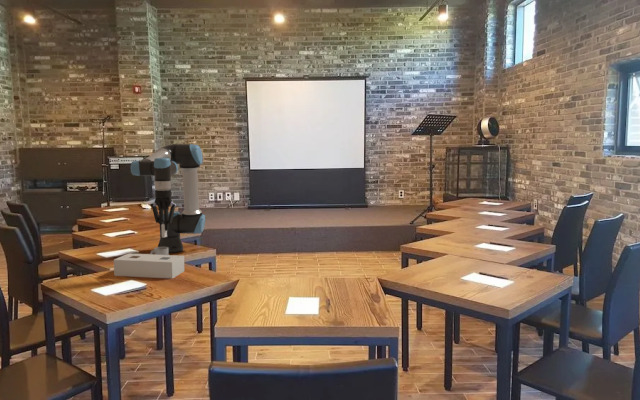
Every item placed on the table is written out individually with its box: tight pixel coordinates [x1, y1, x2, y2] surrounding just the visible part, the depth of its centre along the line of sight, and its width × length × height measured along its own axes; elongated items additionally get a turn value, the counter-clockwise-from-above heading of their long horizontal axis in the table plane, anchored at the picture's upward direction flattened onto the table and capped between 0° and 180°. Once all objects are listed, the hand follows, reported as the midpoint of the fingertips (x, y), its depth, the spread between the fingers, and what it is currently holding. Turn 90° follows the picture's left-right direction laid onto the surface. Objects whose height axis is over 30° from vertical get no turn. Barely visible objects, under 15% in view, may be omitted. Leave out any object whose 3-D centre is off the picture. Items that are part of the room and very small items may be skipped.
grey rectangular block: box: [113, 253, 185, 279], centre depth 237 cm, size 14×30×8 cm, turn 82°
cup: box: [149, 246, 170, 255], centre depth 256 cm, size 7×10×9 cm
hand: (164, 236), depth 235 cm, fingers closed
